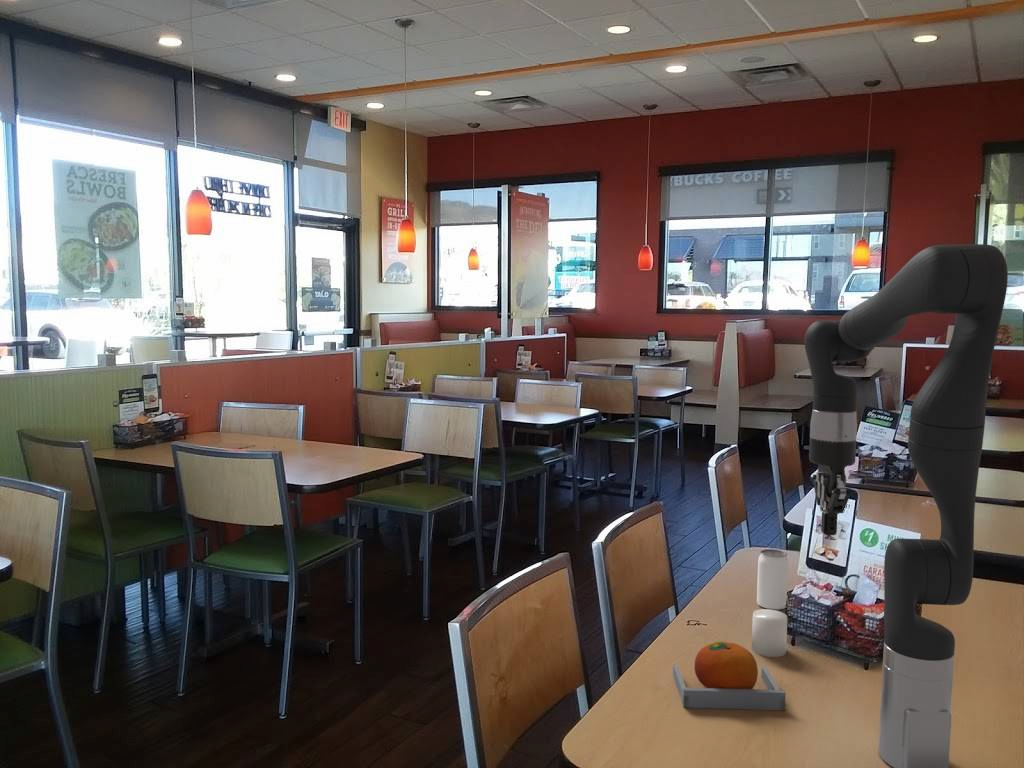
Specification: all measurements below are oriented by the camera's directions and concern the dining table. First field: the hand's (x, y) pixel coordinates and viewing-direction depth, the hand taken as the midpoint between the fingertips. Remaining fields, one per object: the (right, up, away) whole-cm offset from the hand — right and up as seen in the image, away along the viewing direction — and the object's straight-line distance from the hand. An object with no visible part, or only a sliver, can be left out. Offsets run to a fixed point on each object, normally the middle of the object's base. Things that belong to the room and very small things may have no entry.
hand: (828, 533), depth 144 cm
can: (+3, -23, +40) cm, 46 cm away
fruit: (-18, -27, -1) cm, 33 cm away
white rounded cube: (-6, -26, +16) cm, 31 cm away
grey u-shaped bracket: (-18, -27, -1) cm, 33 cm away
